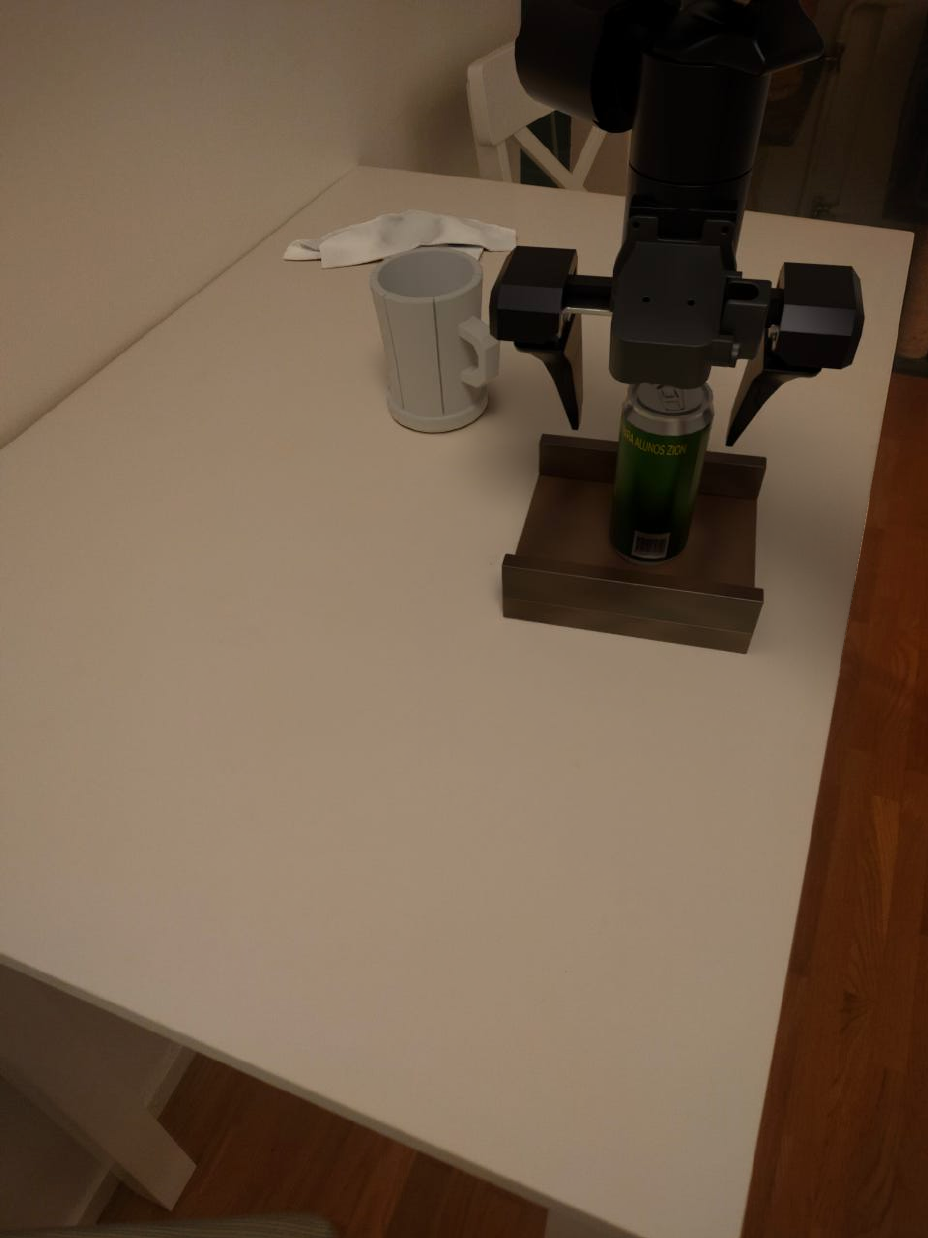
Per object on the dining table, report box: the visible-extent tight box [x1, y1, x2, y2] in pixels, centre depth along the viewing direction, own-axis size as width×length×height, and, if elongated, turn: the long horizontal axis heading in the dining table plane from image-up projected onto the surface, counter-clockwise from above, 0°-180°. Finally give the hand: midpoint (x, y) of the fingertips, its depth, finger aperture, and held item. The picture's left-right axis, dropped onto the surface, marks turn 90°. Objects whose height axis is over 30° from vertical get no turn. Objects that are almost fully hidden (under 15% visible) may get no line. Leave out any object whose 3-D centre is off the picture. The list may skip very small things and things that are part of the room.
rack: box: [500, 433, 768, 655], centre depth 57 cm, size 16×14×5 cm
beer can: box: [609, 382, 716, 567], centre depth 52 cm, size 5×5×12 cm
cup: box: [368, 247, 501, 434], centre depth 67 cm, size 10×9×12 cm
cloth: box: [282, 208, 518, 270], centre depth 92 cm, size 26×14×2 cm, turn 80°
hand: (651, 434), depth 50 cm, fingers open, 9 cm apart
